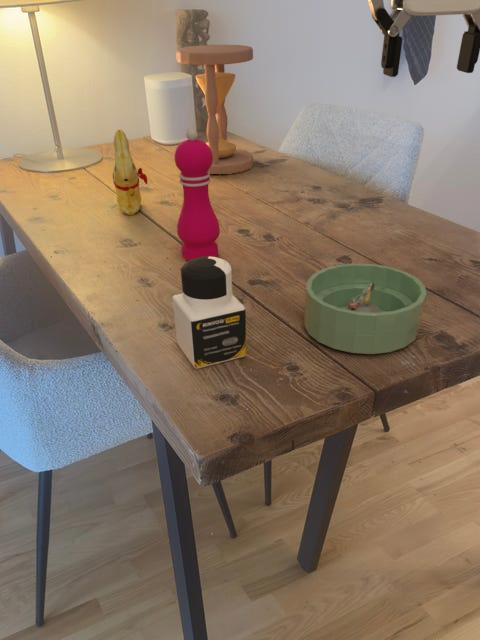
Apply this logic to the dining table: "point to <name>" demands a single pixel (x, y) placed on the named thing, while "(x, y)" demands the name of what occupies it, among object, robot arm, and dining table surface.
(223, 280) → the medicine bottle
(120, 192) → the chocolate bunny
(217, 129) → the hourglass
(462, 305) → the dining table surface
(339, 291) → the bowl
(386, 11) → the robot arm
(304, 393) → the dining table surface
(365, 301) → the figurine
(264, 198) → the dining table surface
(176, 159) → the pepper mill
